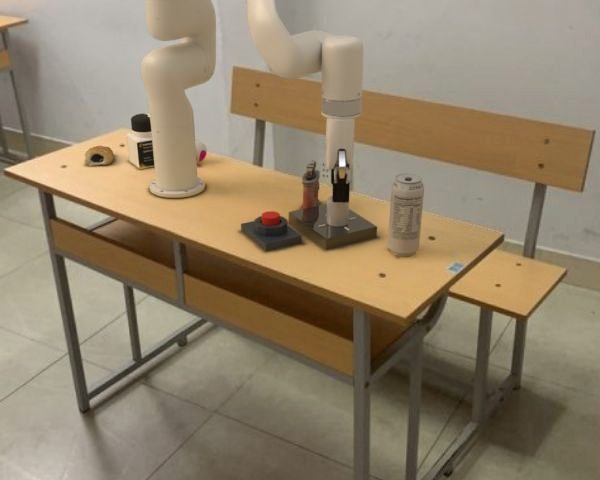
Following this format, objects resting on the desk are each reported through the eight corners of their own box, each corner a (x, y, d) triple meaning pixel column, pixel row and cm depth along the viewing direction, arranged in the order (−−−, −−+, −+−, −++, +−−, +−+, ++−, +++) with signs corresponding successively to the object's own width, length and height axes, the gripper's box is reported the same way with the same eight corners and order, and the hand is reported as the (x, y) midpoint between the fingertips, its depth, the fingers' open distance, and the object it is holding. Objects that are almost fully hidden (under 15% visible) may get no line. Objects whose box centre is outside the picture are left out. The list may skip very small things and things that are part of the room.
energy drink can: (419, 246, 153) (426, 173, 145) (417, 259, 147) (423, 184, 140) (389, 242, 154) (394, 171, 146) (385, 256, 149) (390, 182, 141)
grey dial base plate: (288, 223, 162) (288, 211, 161) (337, 212, 167) (337, 200, 166) (325, 250, 151) (326, 237, 149) (376, 237, 156) (377, 225, 155)
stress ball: (184, 180, 193) (189, 163, 187) (170, 155, 195) (175, 138, 189) (211, 173, 196) (216, 156, 191) (197, 148, 199) (202, 131, 193)
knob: (322, 220, 157) (322, 196, 154) (340, 216, 159) (341, 192, 156) (333, 228, 154) (334, 203, 151) (352, 224, 155) (353, 199, 153)
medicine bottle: (139, 169, 190) (134, 121, 184) (128, 161, 195) (123, 114, 189) (166, 164, 193) (162, 117, 187) (155, 156, 198) (151, 109, 192)
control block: (241, 231, 158) (240, 215, 156) (275, 223, 162) (275, 208, 160) (265, 251, 150) (265, 235, 148) (301, 243, 153) (301, 227, 152)
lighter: (314, 216, 165) (315, 171, 160) (299, 214, 166) (299, 170, 161) (321, 202, 172) (322, 158, 167) (306, 200, 173) (306, 157, 168)
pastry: (91, 154, 199) (89, 139, 197) (117, 154, 200) (116, 139, 198) (84, 166, 191) (82, 151, 189) (112, 166, 192) (110, 151, 190)
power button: (258, 221, 155) (258, 213, 154) (274, 218, 156) (274, 209, 156) (266, 227, 152) (266, 219, 151) (283, 224, 154) (283, 216, 153)
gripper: (320, 94, 152) (320, 177, 160) (322, 119, 137) (321, 209, 145) (358, 94, 152) (356, 177, 160) (364, 119, 137) (361, 209, 145)
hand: (339, 192), depth 153 cm, fingers open, 9 cm apart
